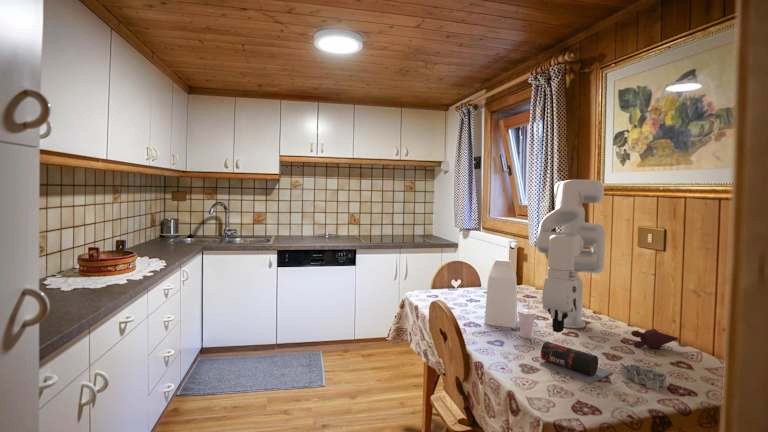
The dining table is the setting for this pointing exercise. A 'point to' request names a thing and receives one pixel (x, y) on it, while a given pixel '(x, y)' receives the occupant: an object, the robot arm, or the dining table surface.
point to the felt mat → (578, 375)
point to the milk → (501, 295)
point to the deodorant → (570, 358)
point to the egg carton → (644, 375)
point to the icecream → (652, 338)
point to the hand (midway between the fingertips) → (557, 331)
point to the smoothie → (526, 321)
